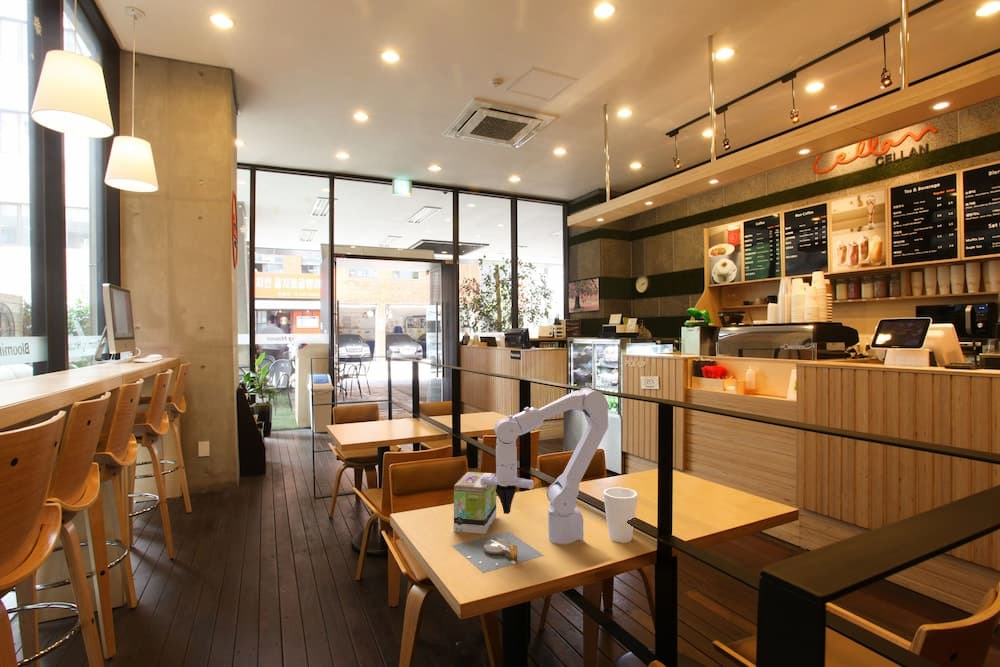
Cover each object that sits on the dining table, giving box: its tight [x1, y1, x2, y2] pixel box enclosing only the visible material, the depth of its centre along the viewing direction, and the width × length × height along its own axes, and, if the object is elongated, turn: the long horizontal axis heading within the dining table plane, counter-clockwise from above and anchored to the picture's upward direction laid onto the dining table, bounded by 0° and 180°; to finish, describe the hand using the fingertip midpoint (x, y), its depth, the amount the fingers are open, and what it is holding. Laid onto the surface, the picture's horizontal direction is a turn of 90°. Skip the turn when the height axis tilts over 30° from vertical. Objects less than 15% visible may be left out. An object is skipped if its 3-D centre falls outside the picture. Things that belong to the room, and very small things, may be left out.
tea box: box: [453, 471, 497, 535], centre depth 156 cm, size 15×10×15 cm, turn 168°
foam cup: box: [602, 486, 638, 544], centre depth 146 cm, size 10×9×13 cm
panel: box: [451, 531, 545, 574], centre depth 137 cm, size 18×18×1 cm
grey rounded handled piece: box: [484, 538, 517, 560], centre depth 135 cm, size 12×7×3 cm, turn 37°
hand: (507, 512), depth 141 cm, fingers closed
